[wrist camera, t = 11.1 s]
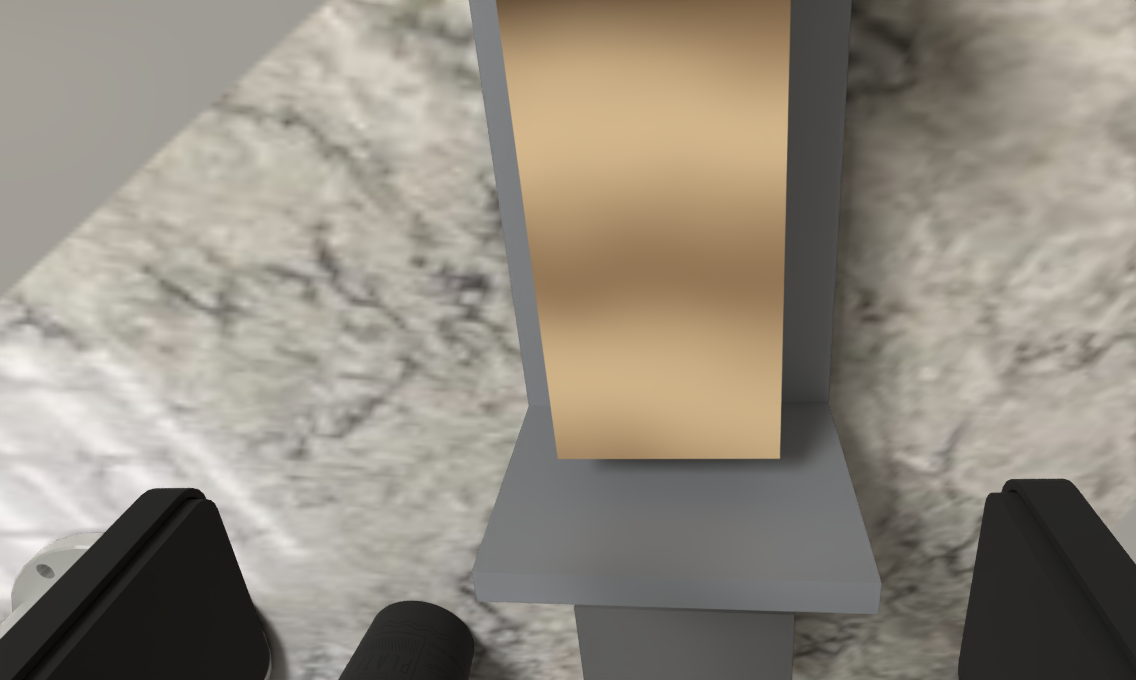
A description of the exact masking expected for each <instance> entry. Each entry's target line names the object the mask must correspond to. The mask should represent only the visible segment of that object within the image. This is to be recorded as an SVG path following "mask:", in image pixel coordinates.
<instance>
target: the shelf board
mask: <svg viewBox="0 0 1136 680" xmlns="http://www.w3.org/2000/svg"><path fill="white" fill-rule="evenodd" d="M496 6H497V13H498V21H499V28H500V35H501V43H502V50H503V58H504V65H505V72H506V80H507V87H508V95H509V102H510V109H511V117H512V124H513V132H514V139H515V146H516V154H517V161H518V169H519V176H520V183H521V191H522V198H523V206H524V213H525V220H526V228H527V235H528V243H529V250H530V257H531V265H532V272H533V279H534V287H535V294H536V302H537V309H538V316H539V324H540V331H541V339H542V346H543V353H544V361H545V368H546V376H547V383H548V390H549V398H550V405H551V413H552V420H553V427H554V435H555V442H556V450H557V457H558V459H780V433H781V390H782V348H783V305H784V263H785V221H786V178H787V136H788V93H789V51H790V9H791V0H496Z"/></svg>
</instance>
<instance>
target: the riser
mask: <svg viewBox="0 0 1136 680" xmlns="http://www.w3.org/2000/svg"><path fill="white" fill-rule="evenodd" d="M574 610H575V617H576V625H577V632H578V639H579V647H580V654H581V662H582V669H583V676H584V680H792V667H793V643H794V619H795V614H794V612H790V611H760V610H729V609H698V608H668V607H637V606H606V605H576V604H575V606H574Z"/></svg>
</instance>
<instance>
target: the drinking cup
mask: <svg viewBox="0 0 1136 680" xmlns="http://www.w3.org/2000/svg"><path fill="white" fill-rule="evenodd" d="M473 652H474V644H473V639H472V637H471V634H470V632H469V631H468V629H467V628H466V626H465V625H464V624H463V623H462V622H461V621H460V620H459V619H458V618H457V617H456V616H454V615H453V614H452V613H450V612H448V611H447V610H445V609H443V608H441V607H438V606H436V605H433V604H429V603H425V602H420V601H403V602H398V603H394V604H391V605H389V606H387V607H385V608H384V609H383V610H381V611H380V612H379V613H378V614H377V616H376V617H375V619H374V620H373V622H372V624H371V626H370V627H369V629H368V631H367V632H366V634H365V636H364V637H363V639H362V641H361V642H360V644H359V646H358V647H357V649H356V651H355V653H354V654H353V656H352V658H351V659H350V661H349V663H348V664H347V666H346V668H345V669H344V671H343V673H342V674H341V676H340V678H339V680H468V678H469V673H470V668H471V663H472V657H473Z"/></svg>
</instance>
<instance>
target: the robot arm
mask: <svg viewBox="0 0 1136 680" xmlns="http://www.w3.org/2000/svg"><path fill="white" fill-rule="evenodd" d="M11 600H12V613H11V614H10V615H9V616H8V617H7V618H6V619H5V620H4V621H3V622H2V623H1V624H0V680H269V678H270V673H271V669H272V666H271V653H270V649H269V646H268V643H267V640H266V636H265V633H264V632H263V630H262V627H261V625H260V622H259V619H258V616H257V614H256V611H255V608H254V606H253V603H252V600H251V598H250V595H249V592H248V589H247V587H246V584H245V581H244V579H243V576H242V573H241V571H240V568H239V565H238V562H237V560H236V557H235V554H234V552H233V549H232V546H231V543H230V541H229V538H228V535H227V533H226V530H225V527H224V525H223V522H222V519H221V516H220V514H219V511H218V508H217V507H216V505H215V503H214V502H212V501H211V500H208V499H206V497H205V495H204V494H203V493H202V492H201V491H200V490H199V489H194V488H155V489H151V490H148V491H146V492H145V493H144V494H142V495H141V496H140V497H139V498H138V499H137V500H136V501H135V502H134V503H133V504H132V505H131V506H130V507H129V508H128V509H127V510H126V511H125V512H124V513H123V514H122V515H121V516H120V518H119V519H118V520H117V521H116V522H115V523H114V524H113V525H112V526H111V527H110V528H109V529H108V530H107V531H106V532H105V533H89V534H76V535H73V536H69V537H66V538H62V539H58V540H56V541H55V542H53V543H51V544H49V545H48V546H46V547H44V548H43V549H41V550H40V551H39V552H38V553H37V554H36V555H35V556H34V557H33V558H32V559H31V560H30V561H29V562H28V563H27V564H25V565H24V566H23V568H22V569H21V571H20V572H19V574H18V575H17V577H16V578H15V581H14V585H13V589H12V593H11ZM958 675H959V680H1136V564H1135V563H1134V562H1133V560H1132V559H1131V558H1130V557H1129V555H1128V554H1127V553H1126V551H1125V550H1124V549H1123V547H1122V546H1121V545H1120V544H1119V542H1118V541H1117V540H1116V538H1115V537H1114V536H1113V534H1112V533H1111V532H1110V530H1109V529H1108V528H1107V527H1106V525H1105V524H1104V523H1103V521H1102V520H1101V519H1100V517H1099V516H1098V515H1097V514H1096V512H1095V511H1094V510H1093V508H1092V507H1091V506H1090V504H1089V503H1088V502H1087V501H1086V499H1085V498H1084V497H1083V495H1082V494H1081V493H1080V491H1079V490H1078V489H1077V488H1076V486H1075V485H1074V484H1073V483H1072V482H1070V481H1069V480H1066V479H1011V480H1008V481H1007V482H1006V483H1005V485H1004V486H1003V489H1002V493H990V494H989V495H988V497H987V498H986V502H985V507H984V513H983V519H982V525H981V531H980V537H979V543H978V549H977V555H976V561H975V567H974V573H973V579H972V585H971V591H970V597H969V603H968V609H967V615H966V621H965V627H964V633H963V639H962V645H961V651H960V657H959V664H958Z"/></svg>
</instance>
